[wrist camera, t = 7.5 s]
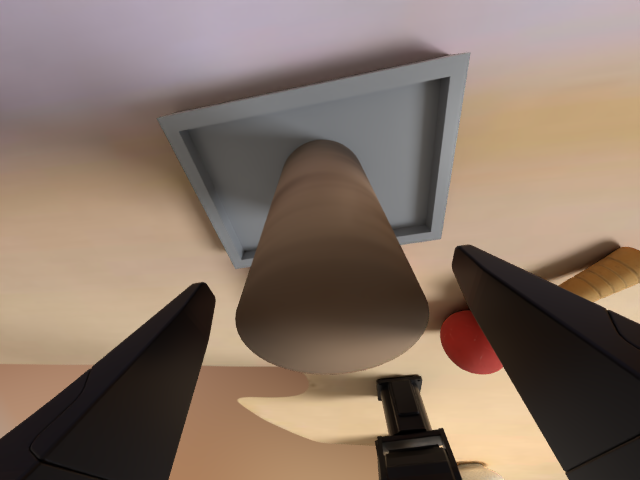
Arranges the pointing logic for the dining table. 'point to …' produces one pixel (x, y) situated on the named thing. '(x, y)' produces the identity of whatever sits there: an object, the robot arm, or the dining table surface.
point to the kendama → (592, 284)
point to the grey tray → (336, 125)
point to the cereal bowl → (477, 472)
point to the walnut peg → (329, 272)
